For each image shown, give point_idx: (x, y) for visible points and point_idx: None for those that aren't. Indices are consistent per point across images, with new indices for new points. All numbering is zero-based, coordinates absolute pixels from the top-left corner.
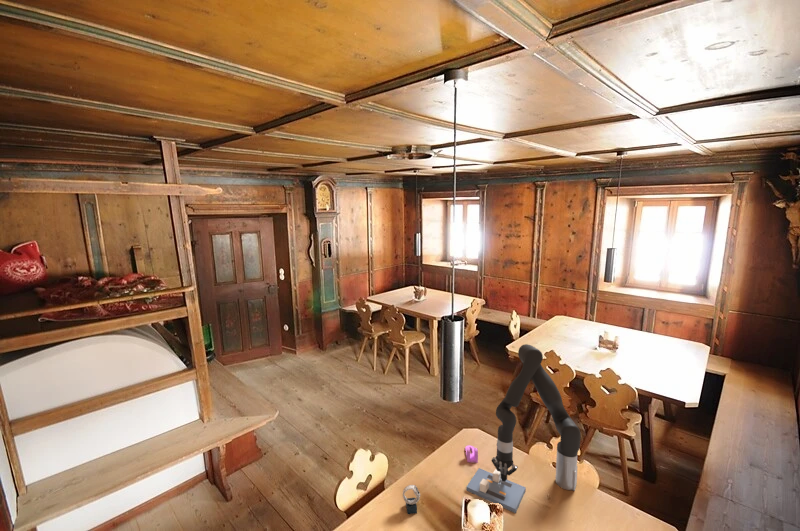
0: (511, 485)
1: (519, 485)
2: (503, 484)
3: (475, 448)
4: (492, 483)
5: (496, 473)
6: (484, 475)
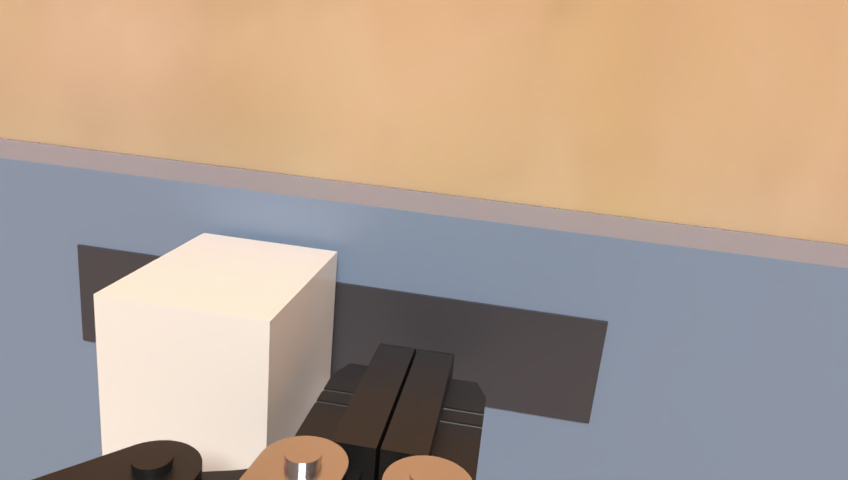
0: (597, 364)
1: (780, 280)
2: None
3: None
4: None
5: None
6: (23, 306)
